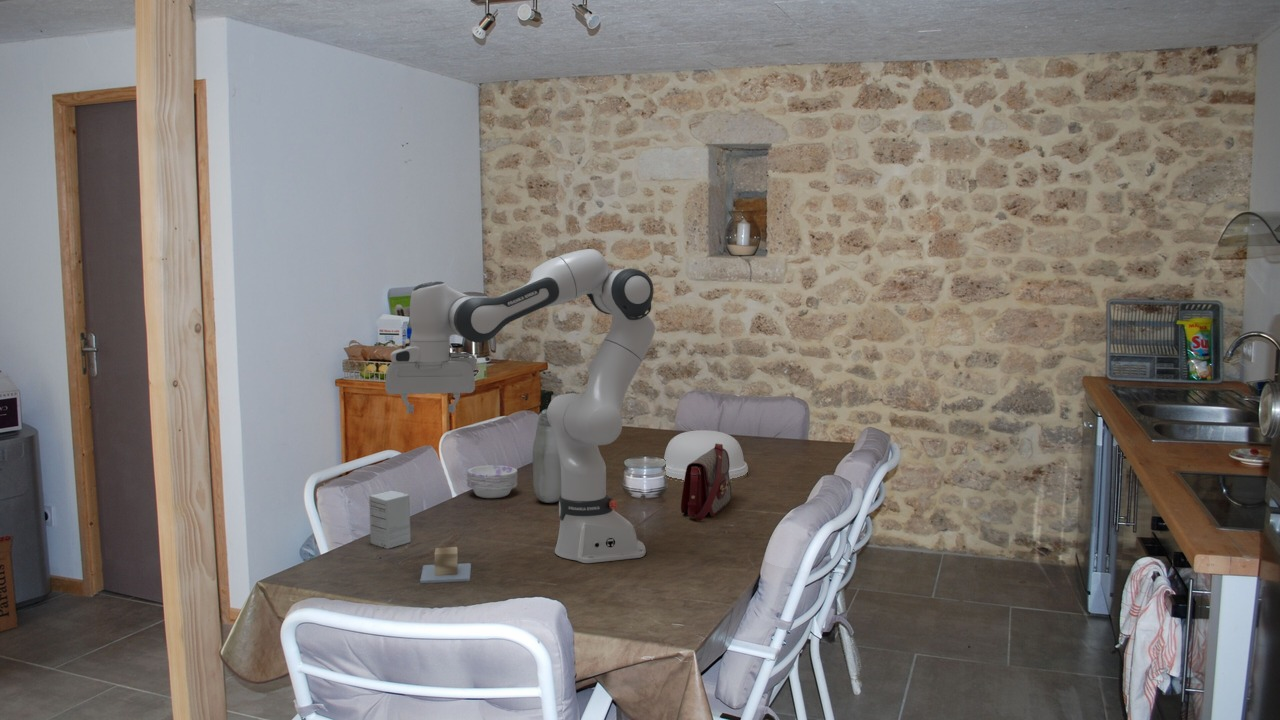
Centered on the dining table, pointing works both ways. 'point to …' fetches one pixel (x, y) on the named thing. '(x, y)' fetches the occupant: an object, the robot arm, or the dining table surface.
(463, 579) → the coaster
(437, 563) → the beech cube
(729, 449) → the dome cover
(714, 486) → the handbag
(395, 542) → the supplement box
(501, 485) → the paper bowls
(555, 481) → the glass bottle
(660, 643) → the dining table surface
